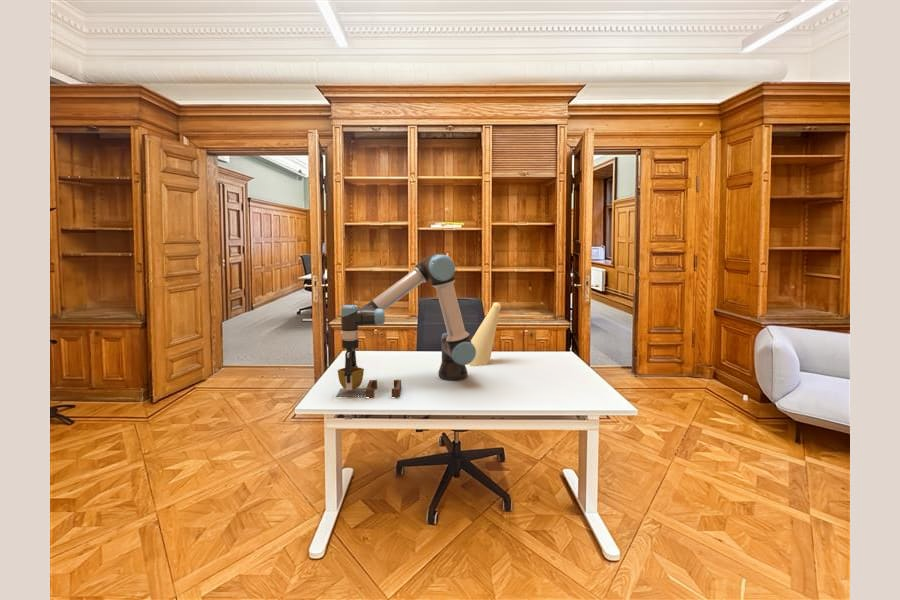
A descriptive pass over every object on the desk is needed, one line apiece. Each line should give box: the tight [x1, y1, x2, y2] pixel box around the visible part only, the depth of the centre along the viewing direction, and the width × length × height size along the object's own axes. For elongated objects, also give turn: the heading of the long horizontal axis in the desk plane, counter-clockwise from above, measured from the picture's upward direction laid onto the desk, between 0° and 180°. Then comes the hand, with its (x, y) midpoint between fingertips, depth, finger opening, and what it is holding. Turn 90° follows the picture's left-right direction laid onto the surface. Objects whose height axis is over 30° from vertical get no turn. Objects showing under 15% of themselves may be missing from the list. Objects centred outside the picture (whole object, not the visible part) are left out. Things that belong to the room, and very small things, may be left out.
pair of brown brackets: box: [365, 379, 402, 399], centre depth 230 cm, size 15×15×4 cm
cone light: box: [466, 302, 502, 367], centre depth 285 cm, size 25×18×35 cm
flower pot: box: [337, 366, 365, 390], centre depth 229 cm, size 9×9×9 cm
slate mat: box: [335, 387, 367, 398], centre depth 230 cm, size 12×12×1 cm
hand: (351, 385), depth 230 cm, fingers closed on flower pot, 11 cm apart
